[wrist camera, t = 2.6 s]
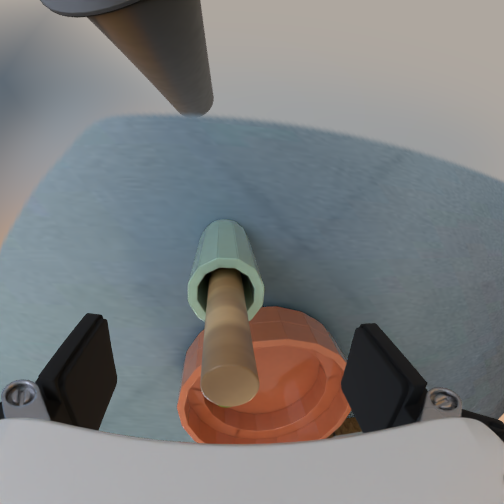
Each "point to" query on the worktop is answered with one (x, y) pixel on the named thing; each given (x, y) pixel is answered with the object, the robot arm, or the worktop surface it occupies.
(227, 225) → the holder
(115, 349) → the worktop surface
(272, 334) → the bowl
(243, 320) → the stick
